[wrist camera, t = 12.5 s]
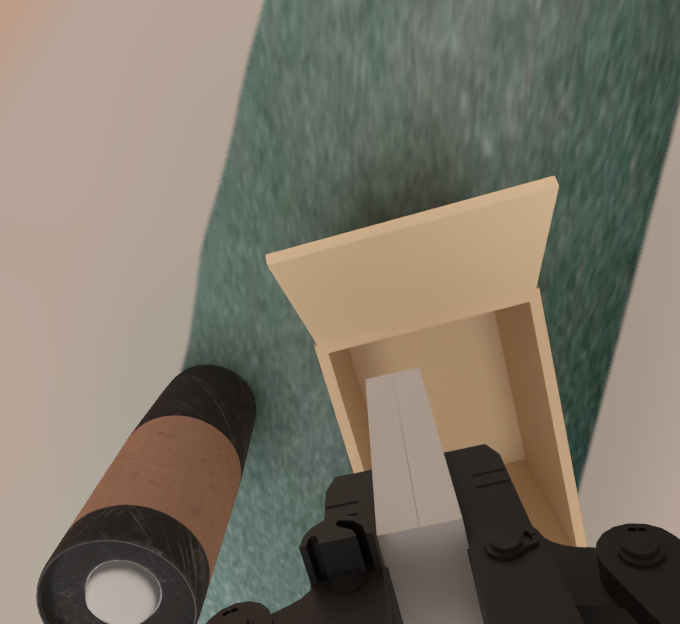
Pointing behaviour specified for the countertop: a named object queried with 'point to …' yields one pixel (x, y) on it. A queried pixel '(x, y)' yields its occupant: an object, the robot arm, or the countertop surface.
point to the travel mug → (156, 511)
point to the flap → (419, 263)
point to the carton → (473, 397)
